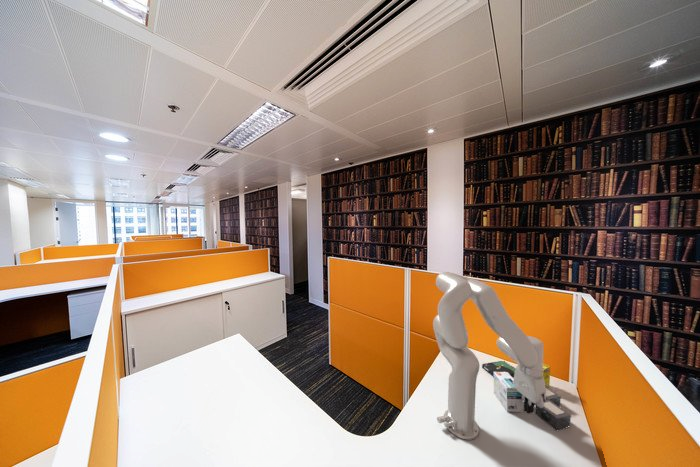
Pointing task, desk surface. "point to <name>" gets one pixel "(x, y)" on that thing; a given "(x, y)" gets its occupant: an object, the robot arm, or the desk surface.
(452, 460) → the desk surface
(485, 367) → the disk drive
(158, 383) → the desk surface
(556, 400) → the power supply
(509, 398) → the light bulb box
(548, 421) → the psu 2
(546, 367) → the supplement box
